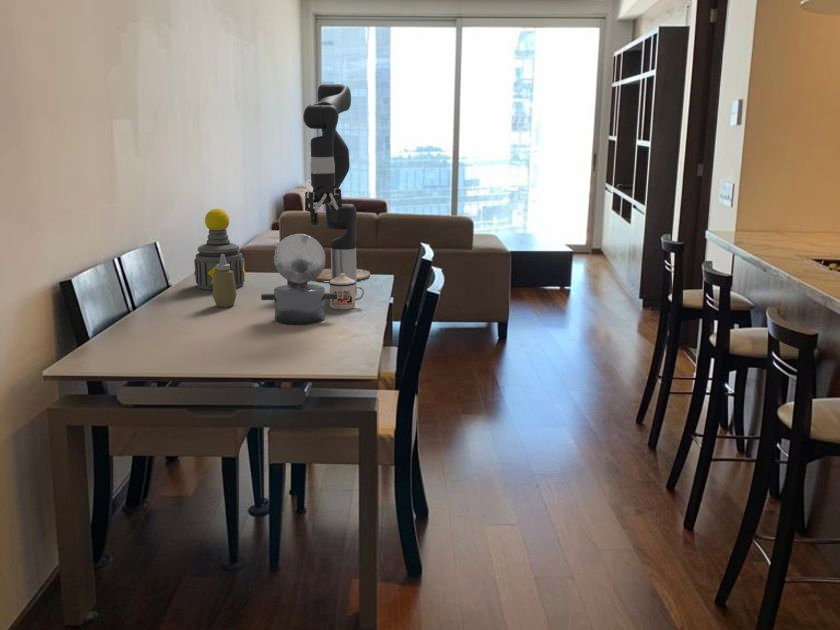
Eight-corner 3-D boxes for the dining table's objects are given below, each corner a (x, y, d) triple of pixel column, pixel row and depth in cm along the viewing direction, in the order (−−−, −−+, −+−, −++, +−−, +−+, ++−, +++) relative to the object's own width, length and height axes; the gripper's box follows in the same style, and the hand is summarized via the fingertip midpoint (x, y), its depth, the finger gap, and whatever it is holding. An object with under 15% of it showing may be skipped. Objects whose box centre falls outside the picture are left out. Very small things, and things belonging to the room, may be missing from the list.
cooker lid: (275, 283, 265) (276, 280, 268) (326, 282, 266) (326, 279, 269) (272, 235, 258) (273, 232, 261) (324, 234, 260) (324, 231, 263)
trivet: (331, 270, 349) (331, 266, 349) (381, 275, 338) (381, 271, 337) (297, 280, 328) (296, 275, 327) (349, 285, 316) (349, 281, 316)
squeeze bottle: (236, 302, 284) (233, 252, 280) (238, 307, 276) (235, 255, 272) (212, 304, 281) (209, 253, 277) (214, 308, 274) (211, 256, 270)
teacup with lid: (328, 310, 273) (328, 276, 270) (330, 304, 282) (329, 271, 279) (364, 309, 274) (363, 276, 271) (364, 304, 282) (364, 271, 280)
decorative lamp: (249, 281, 322) (246, 206, 316) (239, 290, 304) (236, 211, 297) (202, 281, 322) (198, 206, 315) (189, 290, 304) (184, 211, 297)
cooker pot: (265, 314, 267) (263, 284, 264) (337, 312, 269) (337, 283, 266) (259, 325, 251) (258, 294, 249) (337, 324, 253) (336, 293, 251)
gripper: (329, 169, 259) (331, 219, 263) (297, 172, 248) (299, 224, 252) (347, 170, 254) (348, 221, 258) (315, 173, 243) (317, 226, 248)
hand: (324, 223), depth 255 cm, fingers open, 8 cm apart
